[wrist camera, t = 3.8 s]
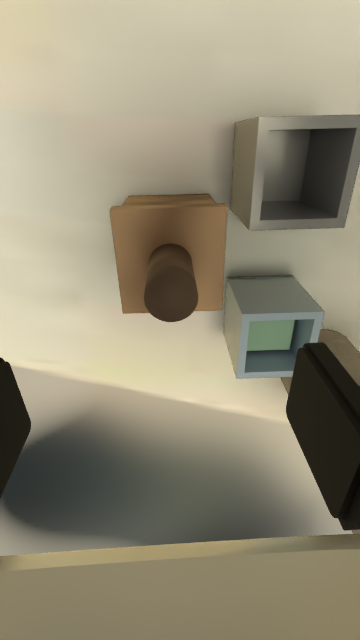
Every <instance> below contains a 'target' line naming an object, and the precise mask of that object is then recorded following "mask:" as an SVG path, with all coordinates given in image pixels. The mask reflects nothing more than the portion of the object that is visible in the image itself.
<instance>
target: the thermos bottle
mask: <svg viewBox="0 0 360 640" xmlns="http://www.w3.org/2000/svg"><path fill="white" fill-rule="evenodd" d="M318 342H323V343H325V344H326V345H327V347H328V348H329V349H330V350H331V352H332V353H333V354H334V355H335V357H336V358H337V359H338V360H339V362H340V363H341V364H342V366H343V367H344V368H345V369H346V371H347V372H348V373H349V374H350V376H351V377H352V378H353V379H354V381H355V382H356V383H357V384H358V385H359V386H360V353H359V351H358V350H357V349H356V348H355V347H354V346H353V345H352V344H351V342H350V341H349V340H348V339H347V338H346V337H345V336H343V335H341V334H340V333H337V332H334V331H329V330H320V333H319V337H318ZM281 380H282V382H283V384H284V386H285V389H286V391H287V393H288V395H289V391H290V386H291V381H292V377H281ZM352 533H353V534H360V529H359V530H352Z"/></svg>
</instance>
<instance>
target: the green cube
mask: <svg viewBox="0 0 360 640" xmlns="http://www.w3.org/2000/svg"><path fill="white" fill-rule="evenodd" d="M294 322H295V320H271V321H250V322H249V332H248V342H247V351H260V350H288V349H290V344H291V339H292V333H293V328H294Z"/></svg>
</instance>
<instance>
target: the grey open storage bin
mask: <svg viewBox="0 0 360 640" xmlns="http://www.w3.org/2000/svg"><path fill="white" fill-rule="evenodd" d="M359 162H360V115H323V116H282V117H257V118H253V119H248V120H244V121H240V122H235V137H234V155H233V173H232V191H231V210H232V211H233V212H234V213H235V215H236V216H237V217H238V218H239V219H240V220H241V222H242V223H243V224H244V225H245V226H246V227H247V229H248V230H249V231H252V230H285V229H319V228H344V226H345V222H346V218H347V214H348V209H349V205H350V201H351V197H352V192H353V188H354V184H355V179H356V175H357V171H358V167H359Z"/></svg>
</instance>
